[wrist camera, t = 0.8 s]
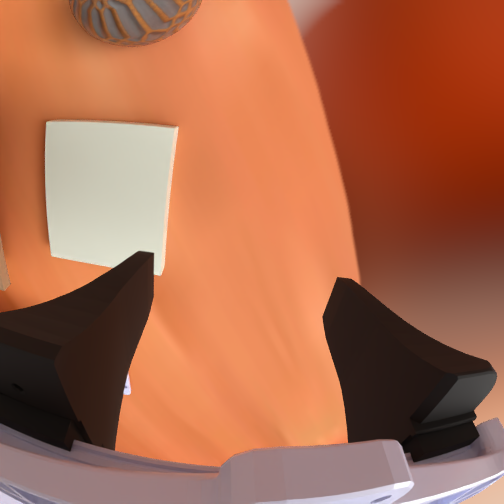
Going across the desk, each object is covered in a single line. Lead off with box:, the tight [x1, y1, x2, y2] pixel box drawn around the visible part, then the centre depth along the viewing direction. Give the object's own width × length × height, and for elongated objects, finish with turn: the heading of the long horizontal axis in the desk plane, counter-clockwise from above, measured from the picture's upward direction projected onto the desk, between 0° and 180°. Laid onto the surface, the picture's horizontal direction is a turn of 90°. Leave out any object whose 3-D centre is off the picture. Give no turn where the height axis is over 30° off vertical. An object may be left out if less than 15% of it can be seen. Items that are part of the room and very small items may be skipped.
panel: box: [45, 120, 179, 276], centre depth 19 cm, size 10×9×2 cm
